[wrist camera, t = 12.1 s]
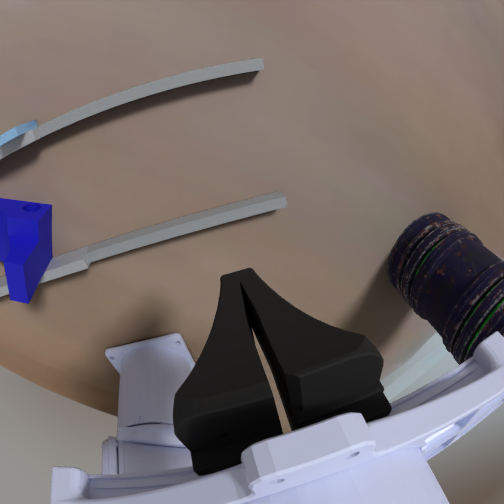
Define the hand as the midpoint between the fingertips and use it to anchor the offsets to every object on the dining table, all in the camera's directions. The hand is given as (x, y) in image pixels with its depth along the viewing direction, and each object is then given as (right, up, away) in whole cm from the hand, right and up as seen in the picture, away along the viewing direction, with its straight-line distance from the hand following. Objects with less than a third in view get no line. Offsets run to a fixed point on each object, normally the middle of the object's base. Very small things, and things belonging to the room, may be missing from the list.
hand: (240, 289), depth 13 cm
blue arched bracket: (-20, +4, +5) cm, 21 cm away
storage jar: (+19, +2, +17) cm, 25 cm away
